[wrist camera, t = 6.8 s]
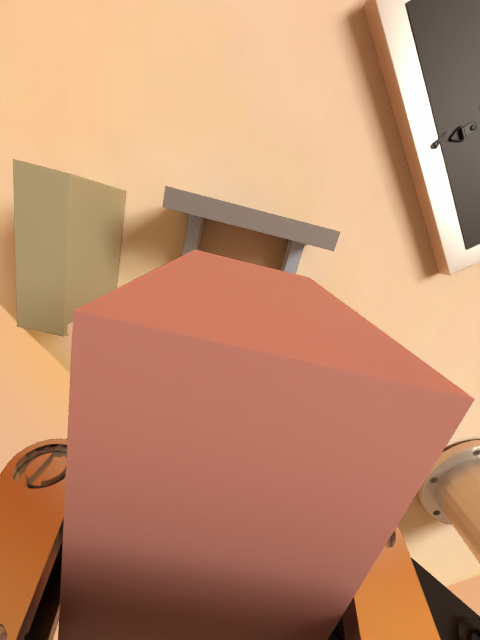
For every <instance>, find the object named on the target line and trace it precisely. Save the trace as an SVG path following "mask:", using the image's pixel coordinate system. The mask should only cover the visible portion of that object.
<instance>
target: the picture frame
mask: <svg viewBox="0 0 480 640" xmlns="http://www.w3.org/2000/svg"><path fill="white" fill-rule="evenodd" d="M364 12H365V15H366V19H367V22H368V26H369V29H370V33H371V36H372V40H373V43H374V47H375V50H376V54H377V57H378V61H379V64H380V68H381V71H382V75H383V78H384V82H385V85H386V89H387V92H388V96H389V99H390V103H391V106H392V110H393V114H394V117H395V121H396V124H397V128H398V131H399V135H400V138H401V142H402V145H403V149H404V152H405V156H406V159H407V163H408V166H409V170H410V173H411V177H412V180H413V184H414V187H415V191H416V194H417V198H418V201H419V205H420V208H421V212H422V215H423V219H424V222H425V226H426V229H427V233H428V237H429V240H430V244H431V247H432V251H433V254H434V258H435V261H436V265H437V268H438V272H439V273H441V274H446V275H452V274H454V273H457V272H459V271H461V270H463V269H465V268H468V267H470V266H472V265H474V264H476V263H478V262H480V0H367V2H366V4H365V6H364Z"/></svg>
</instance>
